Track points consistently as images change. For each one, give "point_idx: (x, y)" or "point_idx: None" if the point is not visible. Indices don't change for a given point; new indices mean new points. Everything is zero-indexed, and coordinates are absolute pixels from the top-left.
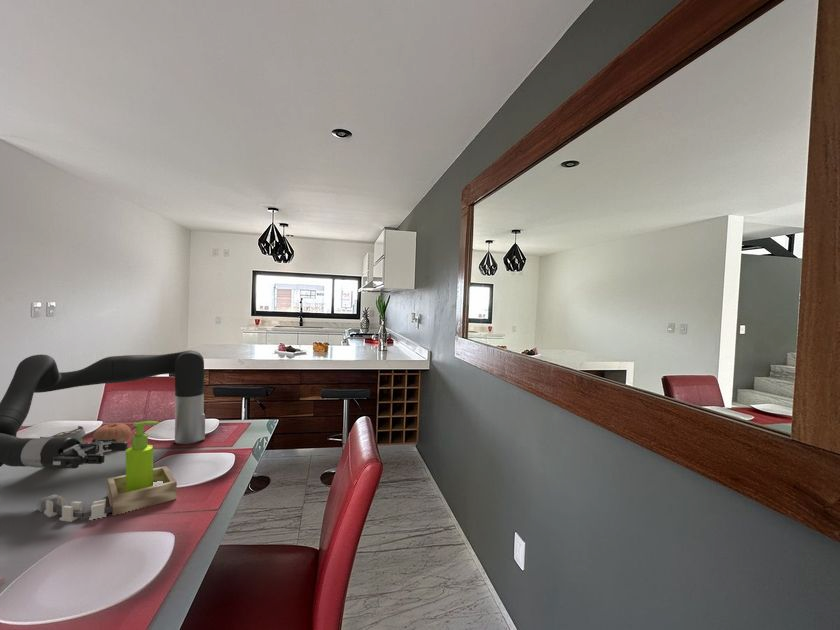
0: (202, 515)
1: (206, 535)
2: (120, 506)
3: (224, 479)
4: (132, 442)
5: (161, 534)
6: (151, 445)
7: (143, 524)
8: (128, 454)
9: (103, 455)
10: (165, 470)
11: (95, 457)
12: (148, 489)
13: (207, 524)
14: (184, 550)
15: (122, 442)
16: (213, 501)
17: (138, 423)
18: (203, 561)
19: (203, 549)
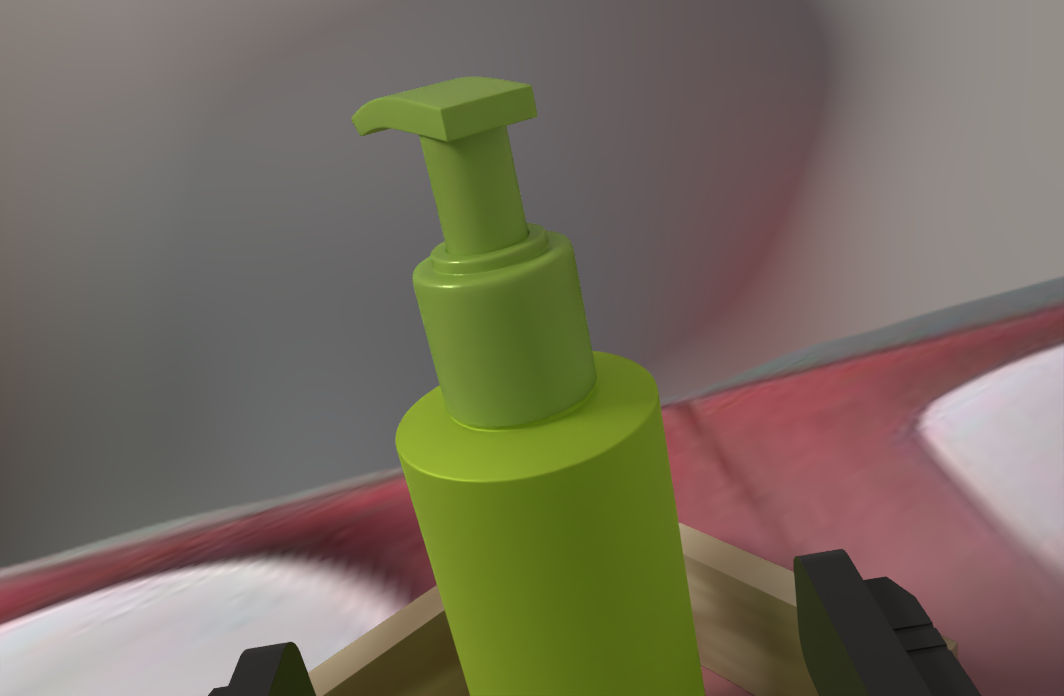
0: (745, 416)
1: (874, 346)
2: None
3: (349, 523)
4: (570, 326)
5: (956, 437)
6: (434, 390)
7: (930, 540)
8: (657, 430)
9: (808, 554)
10: (372, 649)
11: (902, 614)
12: (724, 546)
13: (805, 375)
14: (993, 342)
15: (246, 683)
16: None
17: (481, 85)
18: (1004, 293)
19: (952, 317)
